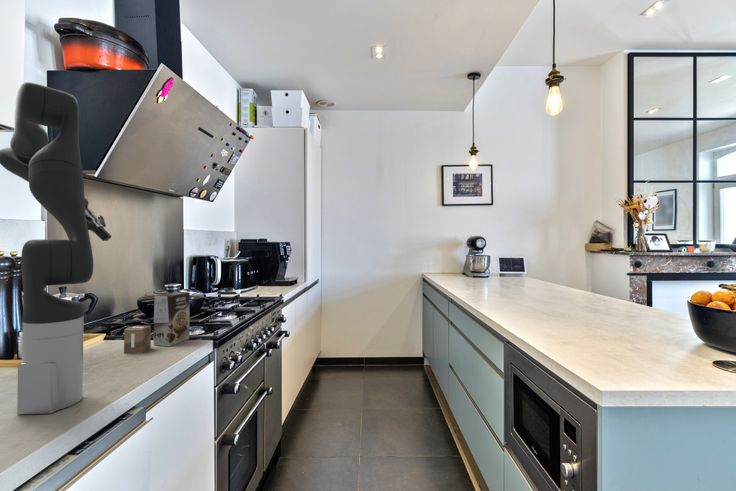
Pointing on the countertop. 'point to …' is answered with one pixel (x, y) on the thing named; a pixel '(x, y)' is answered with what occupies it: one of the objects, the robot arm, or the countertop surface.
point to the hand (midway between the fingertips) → (107, 238)
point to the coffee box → (171, 318)
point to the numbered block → (137, 339)
